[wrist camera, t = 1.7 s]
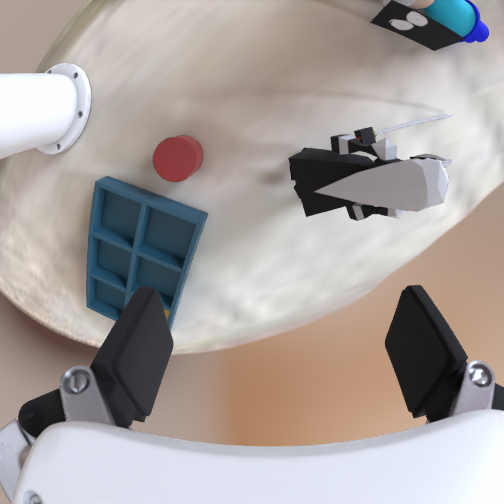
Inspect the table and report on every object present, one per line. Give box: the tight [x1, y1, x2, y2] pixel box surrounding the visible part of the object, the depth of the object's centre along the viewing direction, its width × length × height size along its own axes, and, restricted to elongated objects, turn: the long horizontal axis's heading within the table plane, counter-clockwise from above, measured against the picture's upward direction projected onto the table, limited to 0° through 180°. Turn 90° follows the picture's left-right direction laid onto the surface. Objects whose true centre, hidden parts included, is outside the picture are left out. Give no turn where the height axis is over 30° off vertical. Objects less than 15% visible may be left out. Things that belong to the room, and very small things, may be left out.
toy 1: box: [370, 0, 489, 51], centre depth 13 cm, size 9×11×15 cm
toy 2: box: [288, 115, 454, 221], centre depth 24 cm, size 8×20×15 cm
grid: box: [86, 176, 208, 331], centre depth 33 cm, size 14×20×3 cm
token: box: [153, 135, 203, 182], centre depth 26 cm, size 5×5×3 cm
